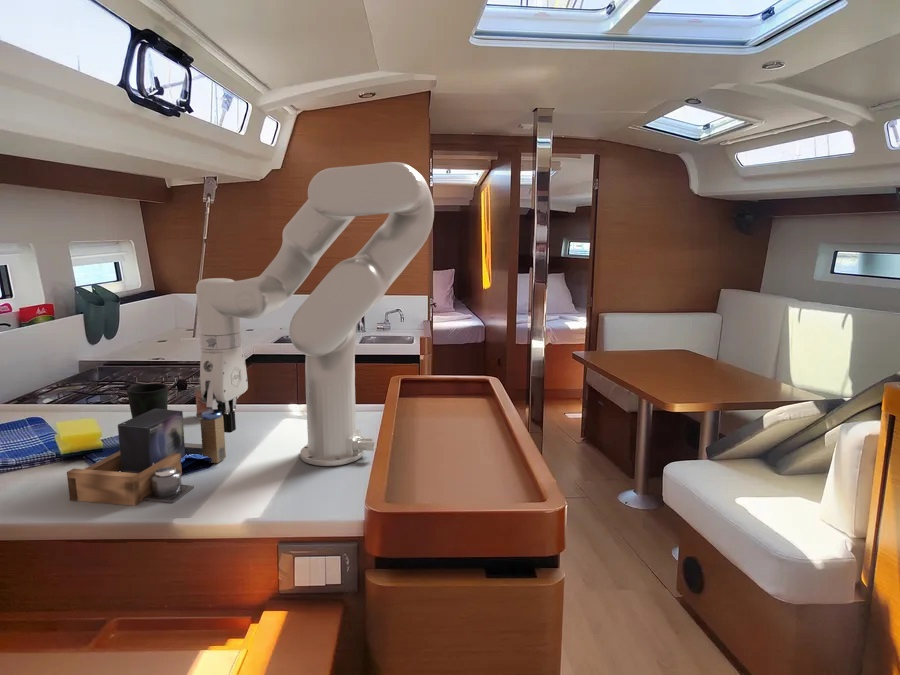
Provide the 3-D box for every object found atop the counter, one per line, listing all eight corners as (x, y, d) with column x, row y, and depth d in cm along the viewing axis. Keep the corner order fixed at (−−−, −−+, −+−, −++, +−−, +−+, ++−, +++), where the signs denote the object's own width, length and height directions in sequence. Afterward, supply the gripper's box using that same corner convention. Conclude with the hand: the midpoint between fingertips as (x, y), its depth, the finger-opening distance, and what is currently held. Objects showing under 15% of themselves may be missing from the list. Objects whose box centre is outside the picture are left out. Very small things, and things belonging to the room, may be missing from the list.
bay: (182, 474, 111) (180, 448, 110) (134, 505, 98) (132, 477, 97) (123, 469, 113) (121, 444, 112) (69, 500, 100) (66, 471, 99)
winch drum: (193, 487, 105) (192, 465, 105) (172, 503, 99) (170, 479, 99) (162, 485, 106) (160, 462, 105) (140, 500, 100) (137, 476, 100)
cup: (142, 452, 122) (137, 394, 120) (125, 443, 126) (119, 388, 124) (179, 441, 128) (174, 387, 126) (160, 434, 132) (156, 381, 130)
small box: (152, 483, 107) (147, 427, 105) (120, 480, 108) (114, 424, 106) (188, 461, 117) (184, 409, 115) (158, 458, 118) (153, 407, 116)
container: (228, 456, 119) (225, 410, 117) (218, 463, 115) (215, 416, 114) (162, 452, 121) (158, 406, 119) (150, 458, 117) (146, 412, 116)
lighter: (193, 418, 144) (189, 377, 142) (202, 413, 147) (199, 374, 145) (221, 421, 141) (218, 380, 140) (230, 417, 145) (228, 376, 143)
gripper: (217, 349, 110) (223, 445, 113) (257, 335, 124) (261, 420, 128) (179, 348, 111) (187, 442, 115) (223, 334, 126) (229, 418, 129)
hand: (226, 430), depth 121 cm, fingers closed
